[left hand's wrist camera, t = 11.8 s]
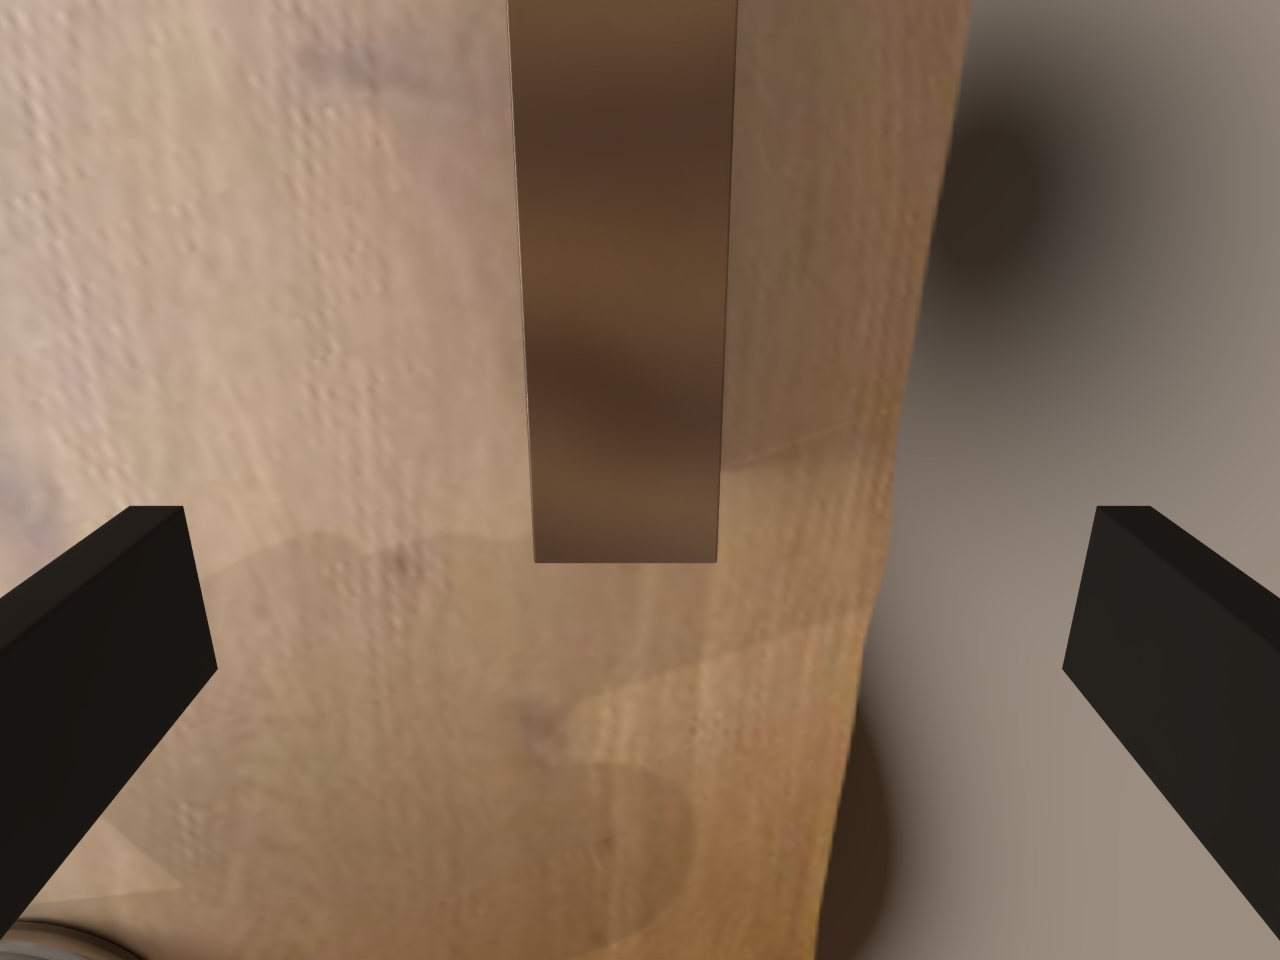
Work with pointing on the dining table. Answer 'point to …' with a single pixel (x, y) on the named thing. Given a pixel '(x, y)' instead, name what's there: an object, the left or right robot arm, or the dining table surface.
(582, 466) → the bar
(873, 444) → the dining table surface
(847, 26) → the dining table surface
